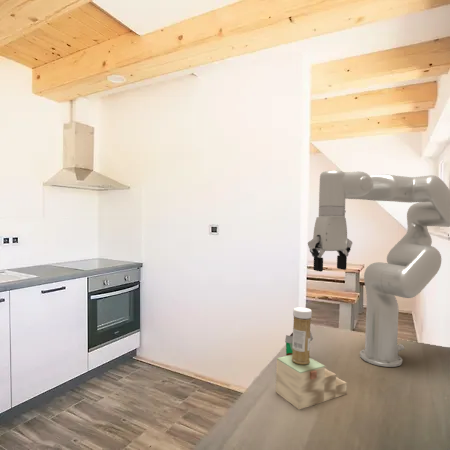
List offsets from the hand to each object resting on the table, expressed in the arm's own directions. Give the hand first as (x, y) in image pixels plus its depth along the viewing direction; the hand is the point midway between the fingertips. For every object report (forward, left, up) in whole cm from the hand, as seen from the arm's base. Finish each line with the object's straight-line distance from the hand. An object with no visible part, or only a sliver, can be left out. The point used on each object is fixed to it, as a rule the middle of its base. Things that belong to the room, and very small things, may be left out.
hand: (330, 269), depth 101 cm
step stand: (+14, +8, -30) cm, 34 cm away
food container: (+4, -7, -31) cm, 32 cm away
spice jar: (+18, +8, -22) cm, 29 cm away
